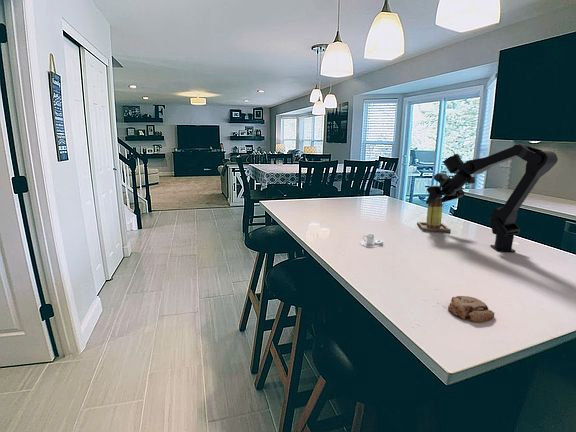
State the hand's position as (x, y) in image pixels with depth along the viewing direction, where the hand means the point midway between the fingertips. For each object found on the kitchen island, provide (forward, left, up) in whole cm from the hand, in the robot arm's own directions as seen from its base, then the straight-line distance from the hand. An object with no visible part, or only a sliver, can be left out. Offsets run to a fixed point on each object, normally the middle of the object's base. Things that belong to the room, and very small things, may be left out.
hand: (433, 202), depth 158 cm
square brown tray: (-1, -1, -12) cm, 12 cm away
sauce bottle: (-1, -1, -12) cm, 12 cm away
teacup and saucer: (-35, +29, -13) cm, 47 cm away
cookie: (-83, +11, -13) cm, 85 cm away
